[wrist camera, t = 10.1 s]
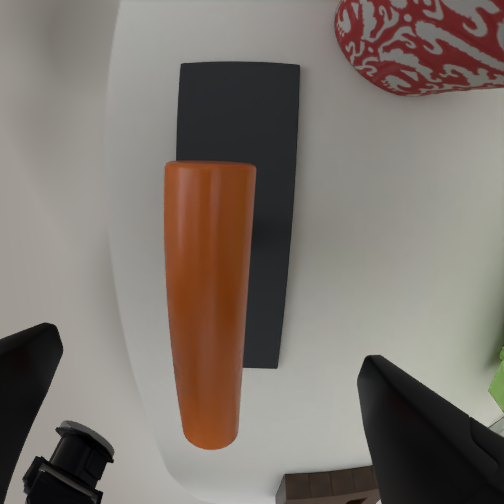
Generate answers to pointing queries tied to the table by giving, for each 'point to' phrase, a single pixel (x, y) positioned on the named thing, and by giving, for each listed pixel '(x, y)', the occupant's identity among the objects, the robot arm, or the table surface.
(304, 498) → the tool rack
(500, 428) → the ink box
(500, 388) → the light green square pot
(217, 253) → the t handle
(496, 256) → the table surface
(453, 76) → the mug
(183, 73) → the mat
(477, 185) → the table surface
